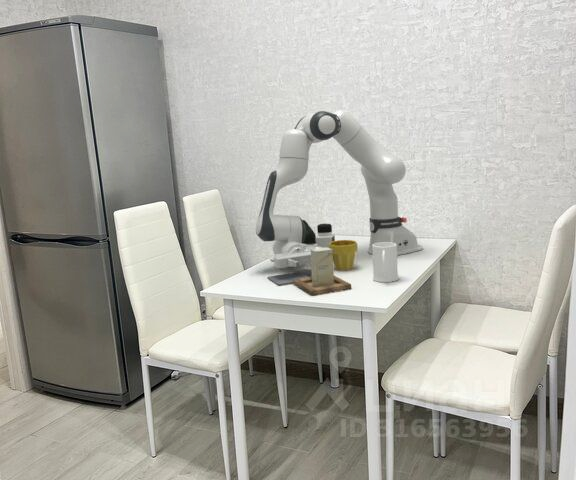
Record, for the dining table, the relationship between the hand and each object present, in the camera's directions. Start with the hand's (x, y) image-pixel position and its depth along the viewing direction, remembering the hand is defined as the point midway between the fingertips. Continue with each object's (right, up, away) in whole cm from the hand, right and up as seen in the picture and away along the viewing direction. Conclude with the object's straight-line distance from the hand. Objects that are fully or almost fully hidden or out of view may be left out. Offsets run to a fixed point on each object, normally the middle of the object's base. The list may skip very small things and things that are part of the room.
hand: (309, 262), depth 198 cm
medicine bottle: (+9, +2, +45) cm, 46 cm away
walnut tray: (+4, -8, -7) cm, 11 cm away
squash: (-3, +2, +46) cm, 46 cm away
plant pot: (+13, -3, +15) cm, 20 cm away
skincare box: (+4, -7, -7) cm, 11 cm away
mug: (+25, -6, -5) cm, 26 cm away
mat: (-7, -6, +5) cm, 11 cm away
